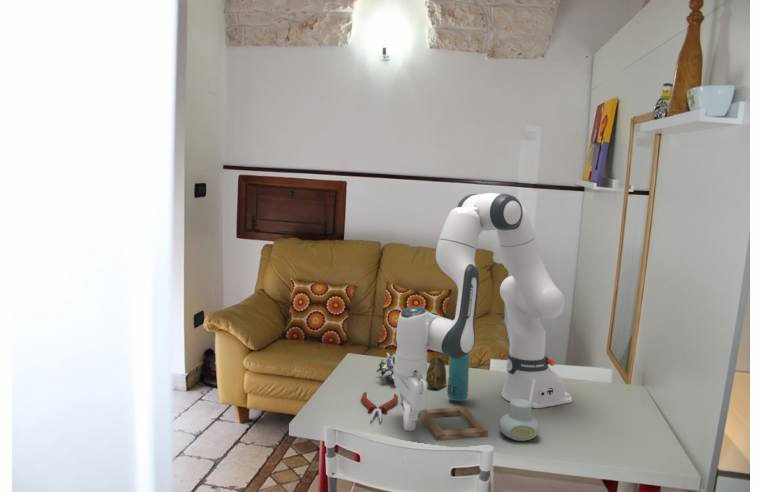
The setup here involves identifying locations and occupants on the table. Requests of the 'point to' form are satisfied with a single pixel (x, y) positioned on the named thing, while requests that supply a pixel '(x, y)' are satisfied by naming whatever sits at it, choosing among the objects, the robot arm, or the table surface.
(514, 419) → the air freshener
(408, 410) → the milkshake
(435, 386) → the decorative stone
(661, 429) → the table surface
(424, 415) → the wooden frame
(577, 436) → the table surface
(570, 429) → the table surface
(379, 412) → the pliers
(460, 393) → the beverage bottle
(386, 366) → the passion flower
